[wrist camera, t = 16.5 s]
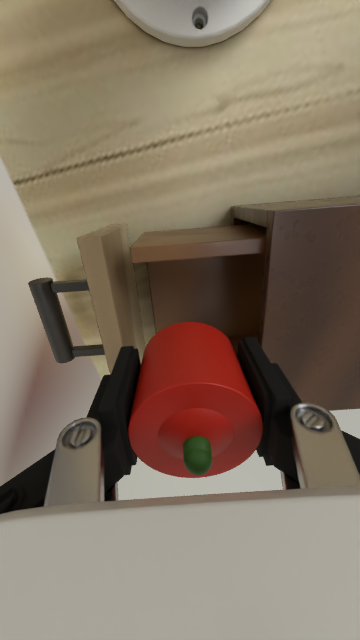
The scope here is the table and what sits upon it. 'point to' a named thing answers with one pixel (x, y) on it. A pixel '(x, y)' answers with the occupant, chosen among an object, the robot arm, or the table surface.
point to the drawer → (160, 285)
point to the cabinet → (311, 295)
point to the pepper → (193, 404)
